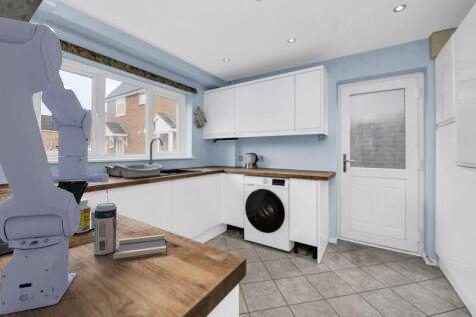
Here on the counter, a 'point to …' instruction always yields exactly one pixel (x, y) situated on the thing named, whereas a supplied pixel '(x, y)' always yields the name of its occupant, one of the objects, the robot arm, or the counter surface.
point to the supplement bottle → (84, 216)
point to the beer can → (105, 228)
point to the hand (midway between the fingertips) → (73, 212)
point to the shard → (79, 240)
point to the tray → (140, 247)
